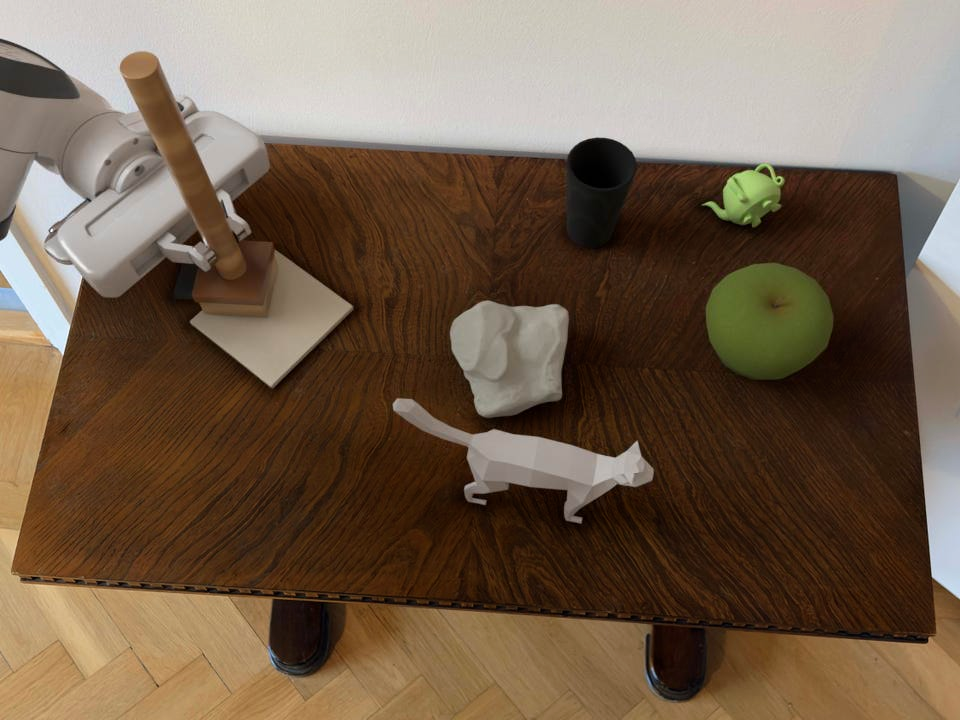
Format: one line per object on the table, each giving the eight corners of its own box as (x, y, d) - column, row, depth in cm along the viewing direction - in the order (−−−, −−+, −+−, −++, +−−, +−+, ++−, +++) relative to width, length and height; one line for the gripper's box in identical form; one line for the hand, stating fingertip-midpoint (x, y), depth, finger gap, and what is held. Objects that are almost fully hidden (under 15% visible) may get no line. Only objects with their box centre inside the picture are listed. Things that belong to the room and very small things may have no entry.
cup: (547, 239, 85) (554, 173, 77) (575, 195, 88) (585, 127, 79) (604, 264, 84) (618, 201, 75) (631, 220, 87) (648, 153, 78)
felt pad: (216, 302, 82) (213, 296, 81) (176, 299, 82) (172, 293, 82) (225, 268, 84) (223, 262, 83) (186, 265, 84) (183, 259, 83)
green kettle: (750, 184, 89) (766, 147, 84) (781, 221, 86) (799, 185, 81) (701, 206, 87) (714, 169, 82) (730, 244, 85) (746, 208, 80)
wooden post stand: (269, 319, 80) (175, 102, 55) (202, 316, 80) (78, 97, 55) (280, 263, 83) (196, 33, 58) (216, 260, 83) (104, 29, 58)
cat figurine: (630, 538, 71) (662, 480, 59) (399, 490, 73) (383, 425, 61) (636, 488, 73) (669, 422, 61) (412, 443, 75) (398, 370, 63)
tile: (272, 389, 78) (271, 386, 77) (191, 324, 81) (189, 321, 80) (354, 309, 82) (353, 306, 81) (273, 250, 85) (272, 247, 84)
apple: (795, 303, 82) (833, 242, 73) (817, 402, 77) (861, 349, 68) (683, 305, 82) (708, 244, 73) (698, 404, 77) (727, 351, 68)
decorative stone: (475, 435, 74) (448, 333, 69) (462, 389, 82) (436, 295, 78) (595, 402, 74) (575, 298, 70) (570, 359, 82) (550, 264, 78)
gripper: (16, 220, 72) (122, 307, 68) (196, 83, 79) (301, 155, 75) (49, 262, 78) (149, 345, 74) (214, 131, 85) (314, 199, 81)
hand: (228, 247), depth 75 cm, fingers closed on wooden post stand, 2 cm apart
